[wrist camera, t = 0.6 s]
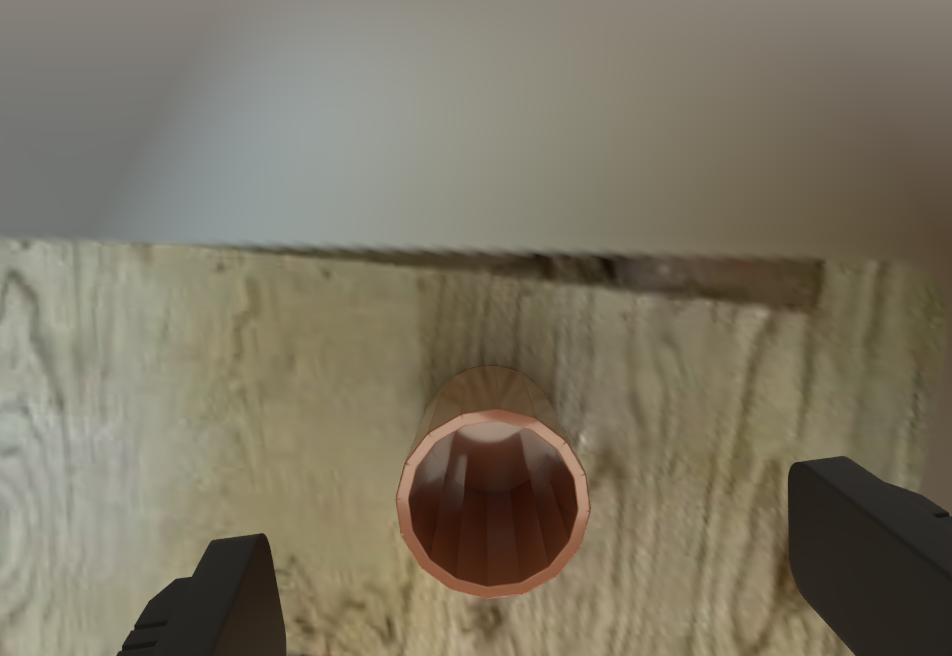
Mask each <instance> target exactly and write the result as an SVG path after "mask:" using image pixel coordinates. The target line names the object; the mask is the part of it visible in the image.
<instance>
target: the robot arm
mask: <svg viewBox="0 0 952 656" xmlns="http://www.w3.org/2000/svg"><path fill="white" fill-rule="evenodd" d="M788 521H789V560H790V566H791V571H792V574H793V578H794V580H795V583H796V585H797V587H798V589H799V591H800V593H801V595H802V596H803V597H804V599H805V600H806V601H807V602H808V603H809V604H810V605H811V607H812V608H813V609H814V610H815V611H816V612H817V613H818V614H819V615H820V617H821V618H822V619H823V620H824V621H825V622H826V623H827V624H828V625H829V627H830V628H831V629H832V630H833V631H834V632H835V633H836V634H837V635H838V636H839V638H840V639H841V640H842V641H843V642H844V643H845V644H846V645H847V646H848V648H849V649H850V650H851V651H852V652H853V653H854V654H855V655H856V656H952V517H950V516H949V513H948V512H947V511H945V510H944V509H942V508H941V507H939V506H938V505H936V504H935V503H933V502H932V501H930V500H929V499H927V498H925V497H924V496H922V495H920V494H917V493H914V492H912V491H909V490H906V489H903V488H901V487H898V486H895V485H892V484H889V483H887V482H883V481H882V480H880V479H879V478H877V477H876V476H875V475H873V474H872V473H870V472H869V471H867V470H866V469H864V468H863V467H861V466H860V465H858V464H857V463H855V462H854V461H852V460H851V459H849V458H847V457H845V456H839V457H832V458H824V459H817V460H810V461H802V462H796V463H794V464H793V465H792V466H791V468H790V470H789V475H788ZM134 627H135V629H134V630H133V631H131V632H130V634H129V636H128V637H127V639H126V641H125V642H124V644H123V646H122V651H119V652H118V654H117V656H286V634H285V626H284V620H283V615H282V609H281V604H280V598H279V593H278V587H277V582H276V577H275V571H274V566H273V560H272V555H271V550H270V545H269V542H268V539H267V537H266V535H265V534H263V533H261V534H254V535H247V536H239V537H232V538H224V539H217V540H212V541H211V542H210V544H209V545H208V547H207V549H206V551H205V553H204V555H203V557H202V559H201V560H200V562H199V564H198V566H197V568H196V570H195V572H194V574H193V575H192V577H187V578H180V579H175V580H174V581H173V582H172V583H171V584H169V585H168V586H167V587H166V588H165V589H163V590H162V591H161V592H160V593H159V594H157V595H156V596H155V597H154V598H153V599H151V600H150V601H149V602H148V604H147V606H146V607H145V609H144V611H143V612H142V614H141V616H140V617H139V619H138V621H137V622H136V624H135V626H134Z"/></svg>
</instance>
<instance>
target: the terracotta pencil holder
mask: <svg viewBox="0 0 952 656" xmlns="http://www.w3.org/2000/svg"><path fill="white" fill-rule="evenodd" d="M396 506H397V513H398V519H399V526H400V533H401V535H402V538H403V540H404V541H405V543H406V544H407V546H408V548H409V549H410V551H411V553H412V554H413V556H414V558H415V559H416V561H417V563H418V564H419V566H420V567H421V568H422V569H423V570H425V571H426V572H428V573H429V574H430V575H432V576H433V577H434V578H436V579H437V580H438V581H440V582H441V583H442V584H444V585H445V586H447V587H448V588H449V589H451V590H455V591H458V592H462V593H466V594H470V595H474V596H478V597H482V598H485V599H486V598H488V599H490V598H498V597H506V596H514V595H522V594H524V593H527V592H529V591H531V590H533V589H535V588H536V587H538V586H540V585H542V584H543V583H545V582H547V581H549V580H551V579H552V578H554V577H556V576H557V575H558V574H559V573H560V572H561V571H562V569H563V568H564V567H565V566H566V564H567V563H568V562H569V561H570V559H571V558H572V557H573V556H574V554H575V553H576V552H577V550H578V549H579V548H580V546H581V544H582V540H583V537H584V533H585V530H586V526H587V523H588V519H589V515H590V510H591V508H590V500H589V492H588V484H587V476H586V473H585V470H584V468H583V466H582V464H581V462H580V460H579V458H578V456H577V454H576V452H575V450H574V448H573V446H572V444H571V442H570V440H569V438H568V435H567V433H566V431H565V429H564V427H563V425H562V423H561V421H560V419H559V417H558V415H557V413H556V411H555V409H554V408H553V406H552V404H551V403H550V401H549V399H548V397H547V396H546V394H545V392H544V391H543V390H542V388H540V387H539V386H538V385H537V384H536V383H535V382H534V381H533V380H532V379H530V378H529V377H527V376H526V375H524V374H522V373H520V372H518V371H516V370H513V369H510V368H507V367H502V366H491V365H489V366H479V367H474V368H471V369H468V370H465V371H463V372H461V373H459V374H456V375H455V376H453V377H452V378H450V379H449V380H448V381H447V382H446V383H444V384H443V385H442V386H441V388H440V389H439V390H438V391H437V392H436V394H435V395H434V397H433V398H432V400H431V401H430V403H429V404H428V406H427V408H426V411H425V413H424V416H423V418H422V421H421V423H420V426H419V428H418V431H417V433H416V436H415V438H414V441H413V443H412V446H411V448H410V451H409V453H408V456H407V458H406V461H405V463H404V467H403V471H402V475H401V478H400V482H399V486H398V490H397V494H396Z"/></svg>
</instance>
